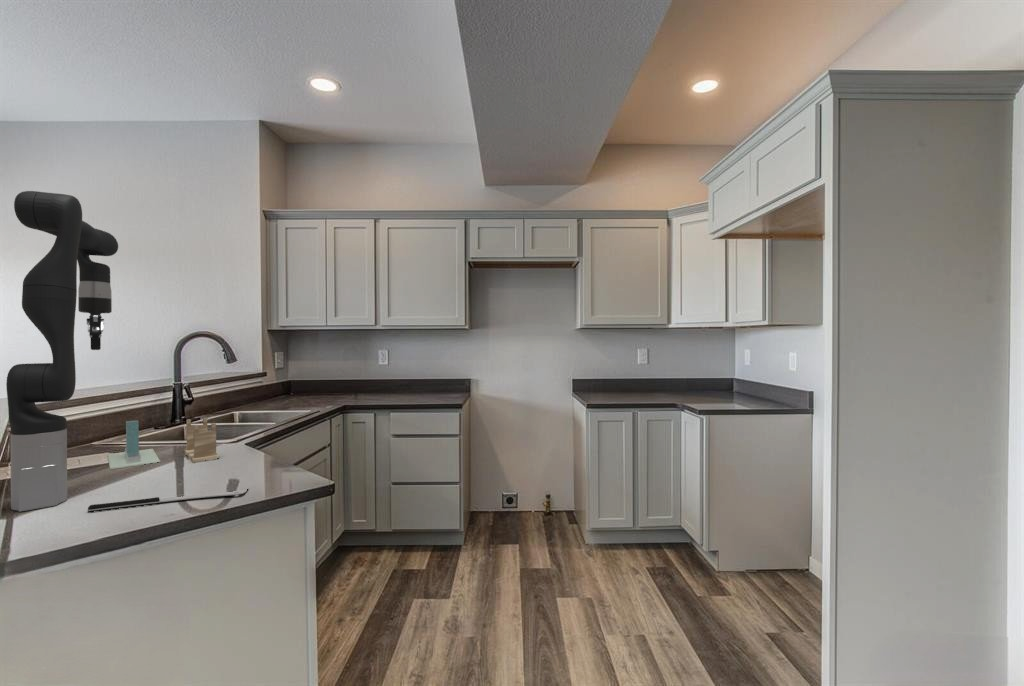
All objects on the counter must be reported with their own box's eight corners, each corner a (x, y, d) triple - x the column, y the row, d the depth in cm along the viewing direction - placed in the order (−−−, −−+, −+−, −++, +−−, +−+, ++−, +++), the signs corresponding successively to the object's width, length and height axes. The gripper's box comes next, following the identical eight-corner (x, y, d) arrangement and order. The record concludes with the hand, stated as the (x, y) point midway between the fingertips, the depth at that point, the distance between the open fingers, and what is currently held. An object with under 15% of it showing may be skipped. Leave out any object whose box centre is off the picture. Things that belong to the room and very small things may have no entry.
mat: (160, 462, 144) (160, 461, 144) (109, 469, 136) (109, 468, 136) (152, 449, 162) (152, 448, 162) (107, 455, 154) (107, 454, 154)
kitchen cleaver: (251, 483, 121) (244, 489, 111) (251, 489, 120) (244, 496, 111) (103, 499, 109) (82, 508, 100) (103, 506, 109) (82, 516, 100)
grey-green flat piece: (140, 462, 144) (140, 424, 144) (128, 463, 142) (128, 425, 142) (136, 452, 157) (136, 417, 157) (124, 453, 155) (124, 418, 155)
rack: (218, 459, 148) (218, 423, 148) (193, 463, 143) (192, 426, 143) (208, 449, 162) (207, 417, 162) (184, 452, 157) (183, 419, 157)
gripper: (112, 296, 137) (112, 349, 137) (110, 299, 147) (111, 349, 147) (77, 294, 132) (78, 350, 132) (78, 298, 142) (79, 350, 142)
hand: (95, 349), depth 139 cm, fingers open, 8 cm apart
